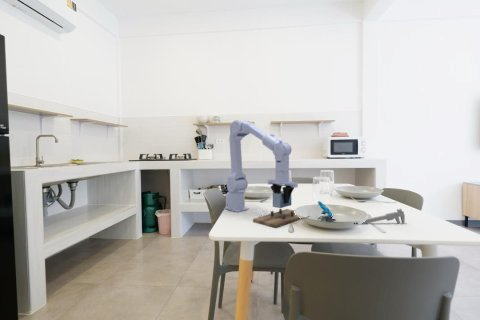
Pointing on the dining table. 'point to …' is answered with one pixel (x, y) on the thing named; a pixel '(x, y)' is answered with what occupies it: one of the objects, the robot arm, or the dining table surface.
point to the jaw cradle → (277, 218)
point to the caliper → (388, 217)
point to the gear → (325, 209)
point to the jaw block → (280, 200)
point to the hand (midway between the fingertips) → (282, 202)
